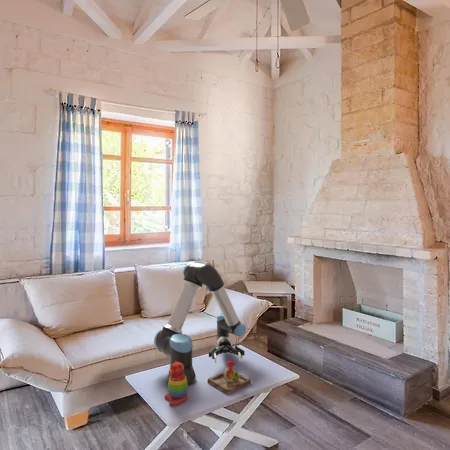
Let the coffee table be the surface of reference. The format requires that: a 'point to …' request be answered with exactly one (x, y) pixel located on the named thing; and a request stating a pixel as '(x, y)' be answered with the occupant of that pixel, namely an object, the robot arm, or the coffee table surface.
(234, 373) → the bird rattle
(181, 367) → the stacking bear
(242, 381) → the walnut plate
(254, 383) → the coffee table surface
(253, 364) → the coffee table surface
